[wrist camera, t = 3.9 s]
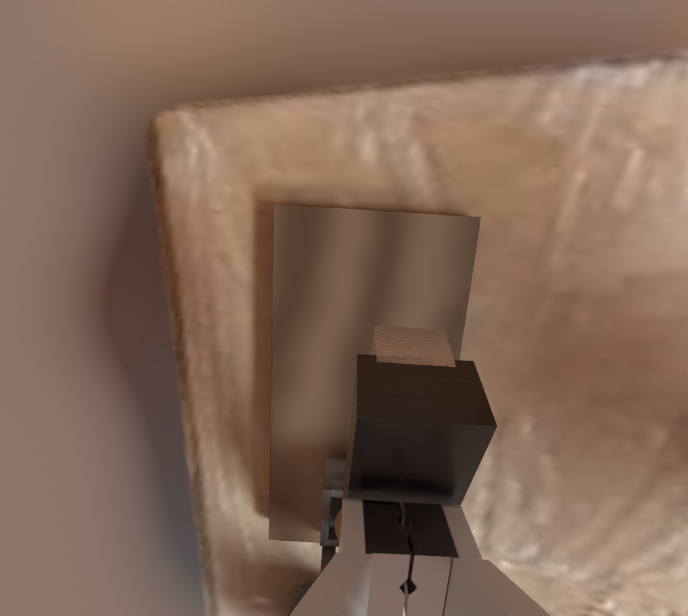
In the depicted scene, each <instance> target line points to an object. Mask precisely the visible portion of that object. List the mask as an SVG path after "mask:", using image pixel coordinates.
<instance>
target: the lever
mask: <svg viewBox="0 0 688 616" xmlns="http://www.w3.org/2000/svg"><path fill="white" fill-rule="evenodd" d="M496 428H497V425H496V422H495V419H494V416H493V414H492V411H491V408H490V405H489V403H488V400H487V397H486V394H485V392H484V389H483V386H482V383H481V381H480V378H479V375H478V372H477V370H476V367H475V364H474V361H462V360H454V358H453V355H452V352H451V348H450V345H449V342H448V338H447V335H446V332H445V330H442V329H426V328H410V327H394V326H379V325H375V328H374V335H373V343H372V351H371V355H367V354H357V360H356V370H355V380H354V390H353V399H352V409H351V419H350V429H349V439H348V449H347V459H346V469H345V479H344V488H343V498H344V499H357V500H375V501H388V502H400V505H401V504H402V502H403V503H426V504H459V505H461V503H462V501H463V499H464V496H465V494H466V492H467V490H468V488H469V486H470V484H471V481H472V479H473V477H474V475H475V473H476V471H477V468H478V466H479V464H480V462H481V460H482V458H483V456H484V453H485V451H486V449H487V447H488V445H489V443H490V441H491V438H492V436H493V434H494V432H495V430H496ZM343 498H342V501H343ZM341 512H342V508H341ZM340 525H341V518H340ZM339 540H340V537H339Z"/></svg>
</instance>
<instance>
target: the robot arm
mask: <svg viewBox="0 0 688 616" xmlns="http://www.w3.org/2000/svg"><path fill="white" fill-rule="evenodd" d="M403 607H404V608H405V614H406V616H550V615H549V614H548V613H547V612H546V611H545V610H544V609H542V608H541V607H540V606H539V605H538V604H537V603H536V602H535V601H534V600H532V599H531V598H530V597H529V596H528V595H527V594H526V593H525V592H524V591H522V590H521V589H520V588H519V587H518V586H517V585H516V584H515V583H514V582H513V581H511V580H510V579H509V578H508V577H507V576H506V575H505V574H504V573H503V572H501V571H500V570H499V569H498V568H497V567H496V566H495V565H494V564H493V563H491V562H490V561H489V560H483V559H482V557H481V554H480V552H479V549H478V547H477V544H476V542H475V539H474V537H473V534H472V532H471V529H470V527H469V525H468V522H467V520H466V517H465V515H464V512H463V510H462V507H461V506H460V505H459V504H426V503H403V502H402V504H401V505H400V502H388V501H375V500H357V499H344V498H343V501H342V512H341V525H340V540H339V553H336V554H335V555H334V556H333V558H332V559H331V560H330V562H329V563H328V564H327V566H326V567H325V568H324V570H323V571H322V572H321V574H320V575H319V576H318V578H317V579H316V581H315V582H314V583H313V585H312V586H311V587H310V589H309V590H308V591H307V593H306V594H305V595H304V597H303V598H302V599H301V601H300V602H299V603H298V605H297V606H296V607H295V609H294V610H293V611H292V613H291V614H290V615H289V616H402V614H403Z"/></svg>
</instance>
